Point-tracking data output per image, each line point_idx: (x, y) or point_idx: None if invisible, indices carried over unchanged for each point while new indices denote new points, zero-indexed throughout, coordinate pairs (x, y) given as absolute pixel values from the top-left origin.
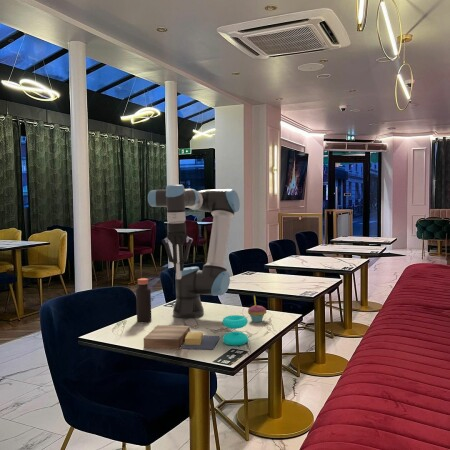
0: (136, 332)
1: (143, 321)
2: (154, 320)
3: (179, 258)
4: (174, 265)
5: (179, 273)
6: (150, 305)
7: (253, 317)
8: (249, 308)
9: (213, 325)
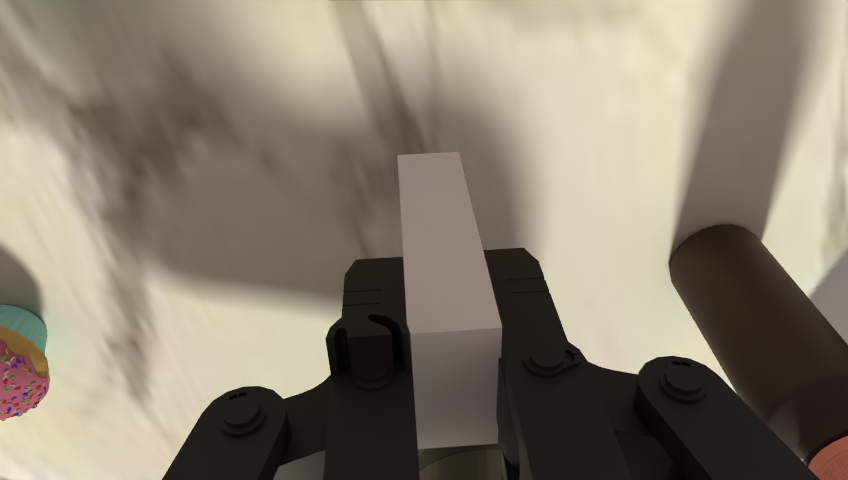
0: (747, 19)
1: (718, 228)
2: (649, 277)
3: (409, 453)
4: (541, 322)
5: (409, 203)
6: (711, 327)
7: (5, 320)
8: (20, 378)
9: (246, 219)
